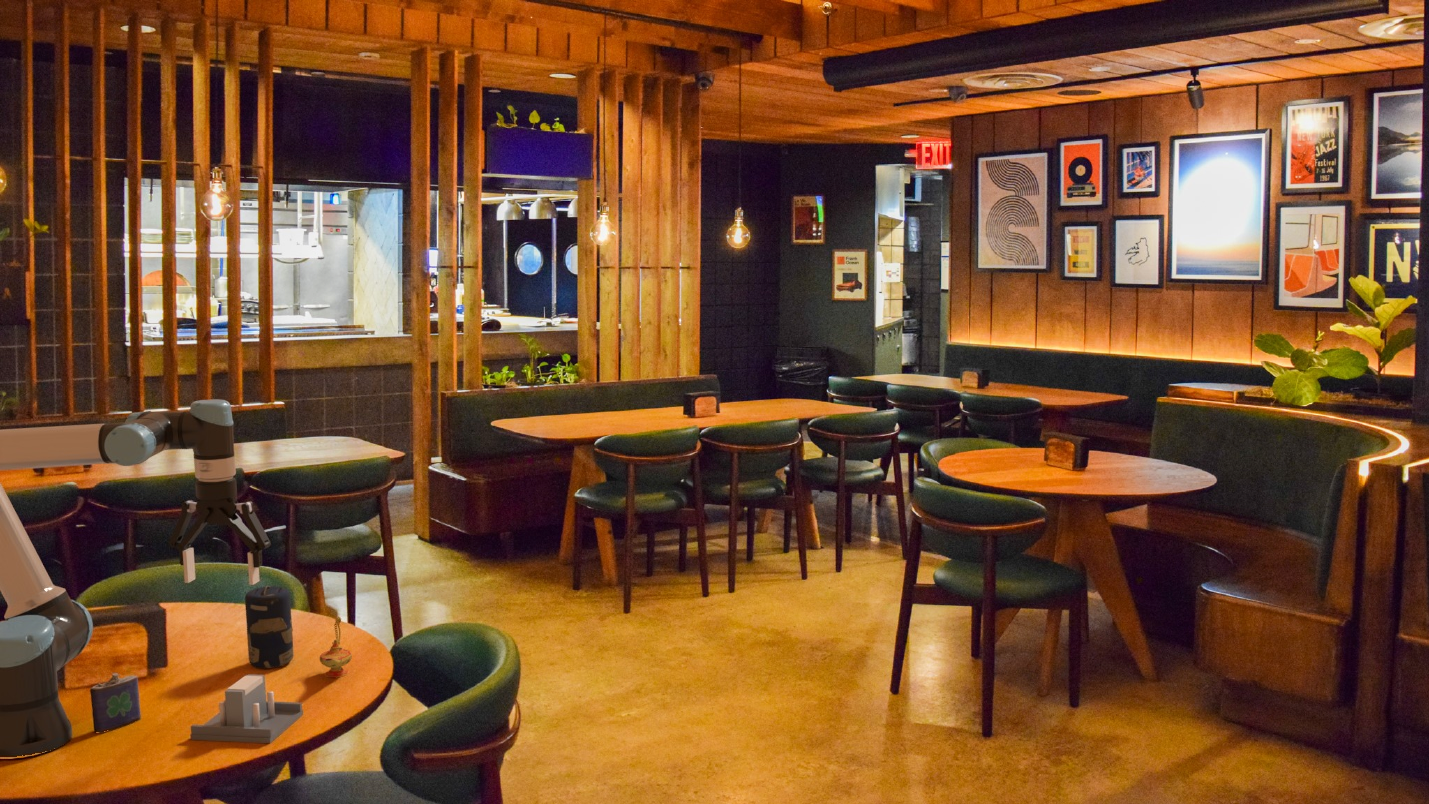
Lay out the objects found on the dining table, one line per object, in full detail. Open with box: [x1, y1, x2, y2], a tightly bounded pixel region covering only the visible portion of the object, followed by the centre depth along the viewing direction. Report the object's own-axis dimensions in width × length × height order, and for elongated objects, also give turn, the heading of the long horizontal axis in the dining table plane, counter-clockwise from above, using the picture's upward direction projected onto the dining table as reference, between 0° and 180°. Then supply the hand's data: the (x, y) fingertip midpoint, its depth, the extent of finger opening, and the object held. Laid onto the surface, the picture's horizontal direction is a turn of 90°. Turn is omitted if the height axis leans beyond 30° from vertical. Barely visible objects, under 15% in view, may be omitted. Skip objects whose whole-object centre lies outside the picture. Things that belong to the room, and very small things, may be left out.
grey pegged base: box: [190, 690, 304, 744], centre depth 240 cm, size 16×14×6 cm
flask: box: [89, 672, 142, 733], centre depth 240 cm, size 9×3×11 cm, turn 144°
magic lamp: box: [319, 616, 353, 678], centre depth 266 cm, size 7×18×11 cm, turn 9°
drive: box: [224, 674, 267, 727], centre depth 239 cm, size 4×9×8 cm, turn 173°
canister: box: [244, 585, 294, 669], centre depth 274 cm, size 10×10×18 cm
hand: (222, 582), depth 245 cm, fingers open, 13 cm apart
